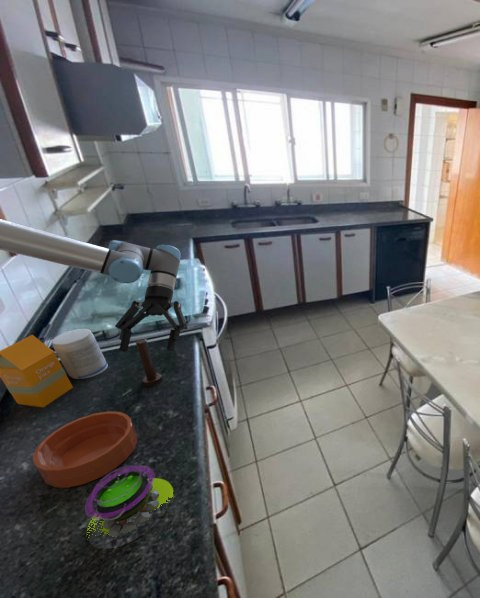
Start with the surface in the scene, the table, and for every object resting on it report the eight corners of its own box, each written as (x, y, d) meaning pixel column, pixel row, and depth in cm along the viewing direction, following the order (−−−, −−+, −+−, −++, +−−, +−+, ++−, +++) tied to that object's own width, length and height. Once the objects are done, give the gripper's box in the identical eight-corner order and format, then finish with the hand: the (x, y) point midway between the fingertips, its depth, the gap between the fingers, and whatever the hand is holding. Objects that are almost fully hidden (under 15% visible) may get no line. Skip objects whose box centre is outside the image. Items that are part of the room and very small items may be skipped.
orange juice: (20, 408, 94) (-18, 351, 85) (51, 387, 102) (20, 333, 93) (45, 410, 94) (11, 353, 85) (75, 389, 102) (46, 335, 93)
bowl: (49, 449, 83) (39, 430, 80) (136, 420, 93) (130, 402, 91) (38, 505, 71) (26, 485, 68) (140, 464, 81) (133, 445, 78)
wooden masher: (143, 381, 108) (130, 339, 101) (161, 375, 111) (150, 335, 104) (144, 389, 105) (131, 347, 98) (163, 384, 108) (151, 342, 101)
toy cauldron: (83, 509, 71) (61, 476, 66) (164, 466, 80) (151, 435, 75) (90, 569, 61) (65, 535, 56) (182, 512, 71) (167, 479, 66)
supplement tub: (115, 364, 114) (99, 328, 107) (94, 382, 106) (75, 344, 99) (86, 364, 113) (68, 328, 107) (62, 382, 105) (41, 344, 98)
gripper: (204, 293, 117) (194, 352, 110) (126, 292, 113) (110, 353, 106) (195, 285, 110) (184, 347, 103) (112, 283, 106) (94, 348, 99)
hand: (146, 350), depth 104 cm, fingers open, 13 cm apart
